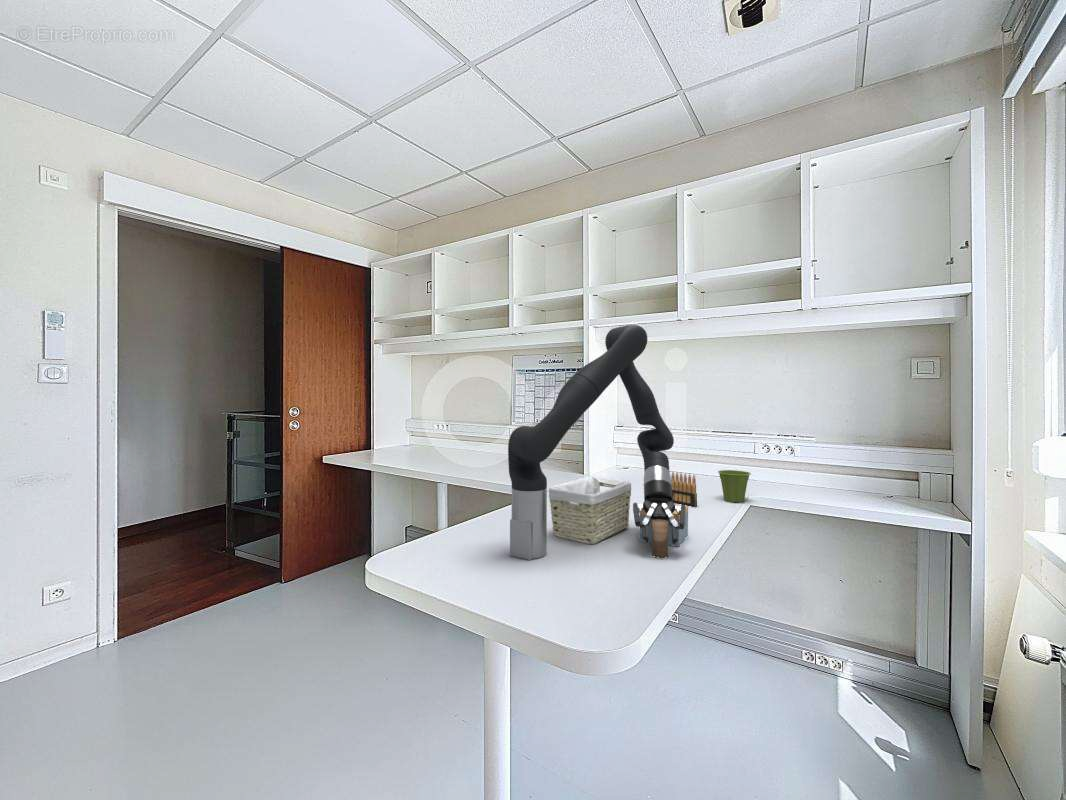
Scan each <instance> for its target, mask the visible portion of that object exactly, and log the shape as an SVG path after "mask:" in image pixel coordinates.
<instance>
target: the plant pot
mask: <svg viewBox="0 0 1066 800" xmlns="http://www.w3.org/2000/svg"><path fill="white" fill-rule="evenodd" d="M717 473H718V474H719V479H720V483H721V488H722V489H721V490H722V495H723V500H724V501H725V500H726V501H725V502H728V501H730V503H739V502H741V503H744V502H745V499H746V492H747V486H748V481H749V478H750V475H751V474H752V473H751V472H749V471H744V470H734V469H733V470H732V469H724V470H723V469H722V470H718V471H717Z"/></svg>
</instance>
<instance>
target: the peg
mask: <svg viewBox="0 0 1066 800" xmlns="http://www.w3.org/2000/svg"><path fill="white" fill-rule="evenodd" d="M651 545H652V546H651V547H652V548H651V556H652V555H653V556H655V557H659V558H665V557H669V545H668V521H666V520H662V519H655V520H652V543H651ZM653 556H652V557H653ZM655 557H654V558H655ZM659 558H658V559H659ZM665 559H666V558H665Z"/></svg>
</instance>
